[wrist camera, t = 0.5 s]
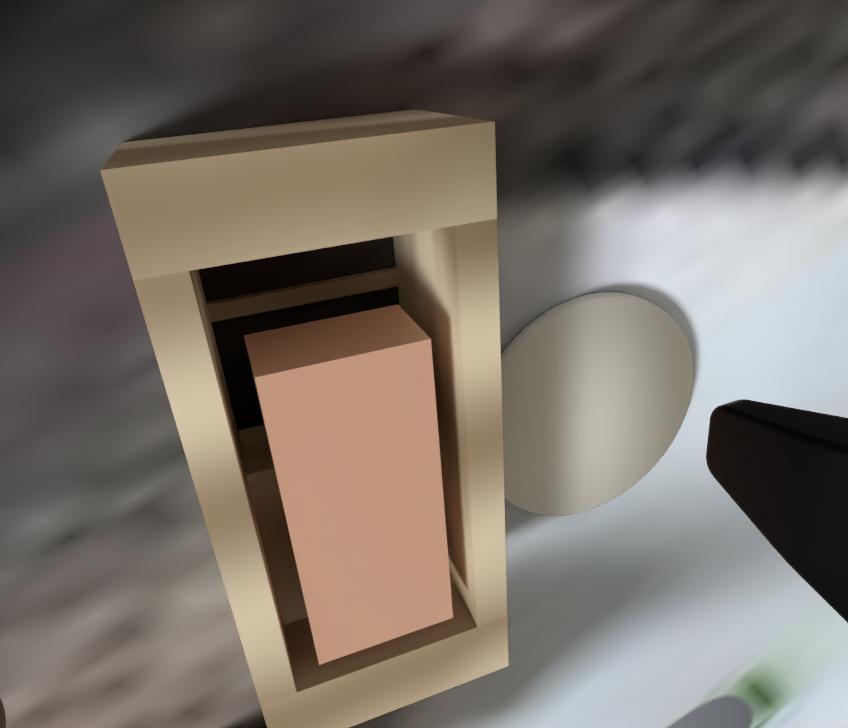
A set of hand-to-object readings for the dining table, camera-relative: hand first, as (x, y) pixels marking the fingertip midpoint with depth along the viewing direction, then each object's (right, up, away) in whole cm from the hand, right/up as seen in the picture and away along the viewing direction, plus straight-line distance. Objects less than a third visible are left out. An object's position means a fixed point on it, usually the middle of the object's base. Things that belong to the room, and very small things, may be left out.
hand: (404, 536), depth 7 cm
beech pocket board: (-3, +1, +12) cm, 13 cm away
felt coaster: (+6, 0, +16) cm, 17 cm away
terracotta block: (-2, -1, +10) cm, 11 cm away
